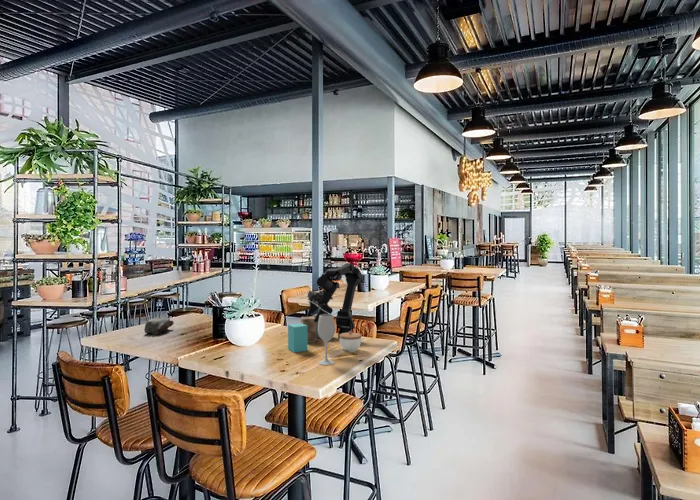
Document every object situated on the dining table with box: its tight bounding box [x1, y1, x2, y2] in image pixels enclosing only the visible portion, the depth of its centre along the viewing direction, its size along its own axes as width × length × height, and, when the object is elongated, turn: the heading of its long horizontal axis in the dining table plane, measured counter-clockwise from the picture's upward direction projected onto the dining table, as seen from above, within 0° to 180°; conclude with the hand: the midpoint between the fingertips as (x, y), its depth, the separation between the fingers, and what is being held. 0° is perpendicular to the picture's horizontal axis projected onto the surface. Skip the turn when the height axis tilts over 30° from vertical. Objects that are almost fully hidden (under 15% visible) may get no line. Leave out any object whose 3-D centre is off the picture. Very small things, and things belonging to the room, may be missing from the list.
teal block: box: [287, 322, 308, 353], centre depth 210 cm, size 7×7×12 cm
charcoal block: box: [312, 313, 321, 339], centre depth 238 cm, size 7×7×12 cm
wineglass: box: [317, 313, 336, 366], centre depth 191 cm, size 8×8×21 cm
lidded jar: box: [339, 331, 362, 353], centre depth 212 cm, size 11×11×9 cm
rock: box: [144, 317, 175, 335], centre depth 252 cm, size 18×11×8 cm, turn 2°
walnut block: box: [300, 315, 317, 343], centre depth 229 cm, size 7×7×12 cm
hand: (311, 319), depth 216 cm, fingers open, 9 cm apart
